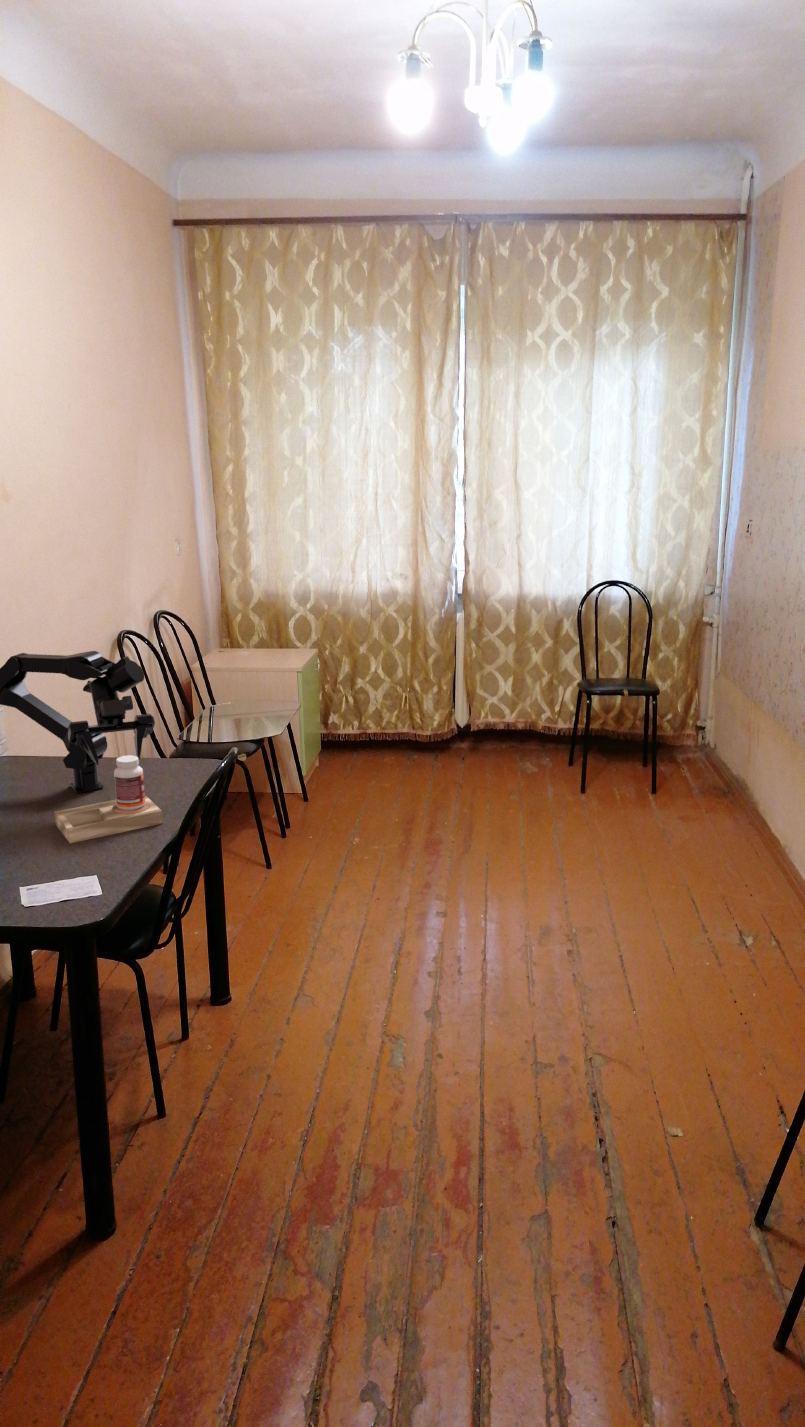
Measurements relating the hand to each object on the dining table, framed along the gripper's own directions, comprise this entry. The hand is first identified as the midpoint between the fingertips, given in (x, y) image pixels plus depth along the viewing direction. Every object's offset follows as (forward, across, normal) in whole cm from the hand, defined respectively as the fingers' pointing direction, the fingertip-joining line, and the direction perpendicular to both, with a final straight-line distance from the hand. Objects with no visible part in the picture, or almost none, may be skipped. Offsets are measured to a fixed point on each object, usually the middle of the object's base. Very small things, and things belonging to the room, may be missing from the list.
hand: (118, 761), depth 216 cm
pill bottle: (+11, +1, 0) cm, 11 cm away
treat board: (+14, -4, +2) cm, 15 cm away
